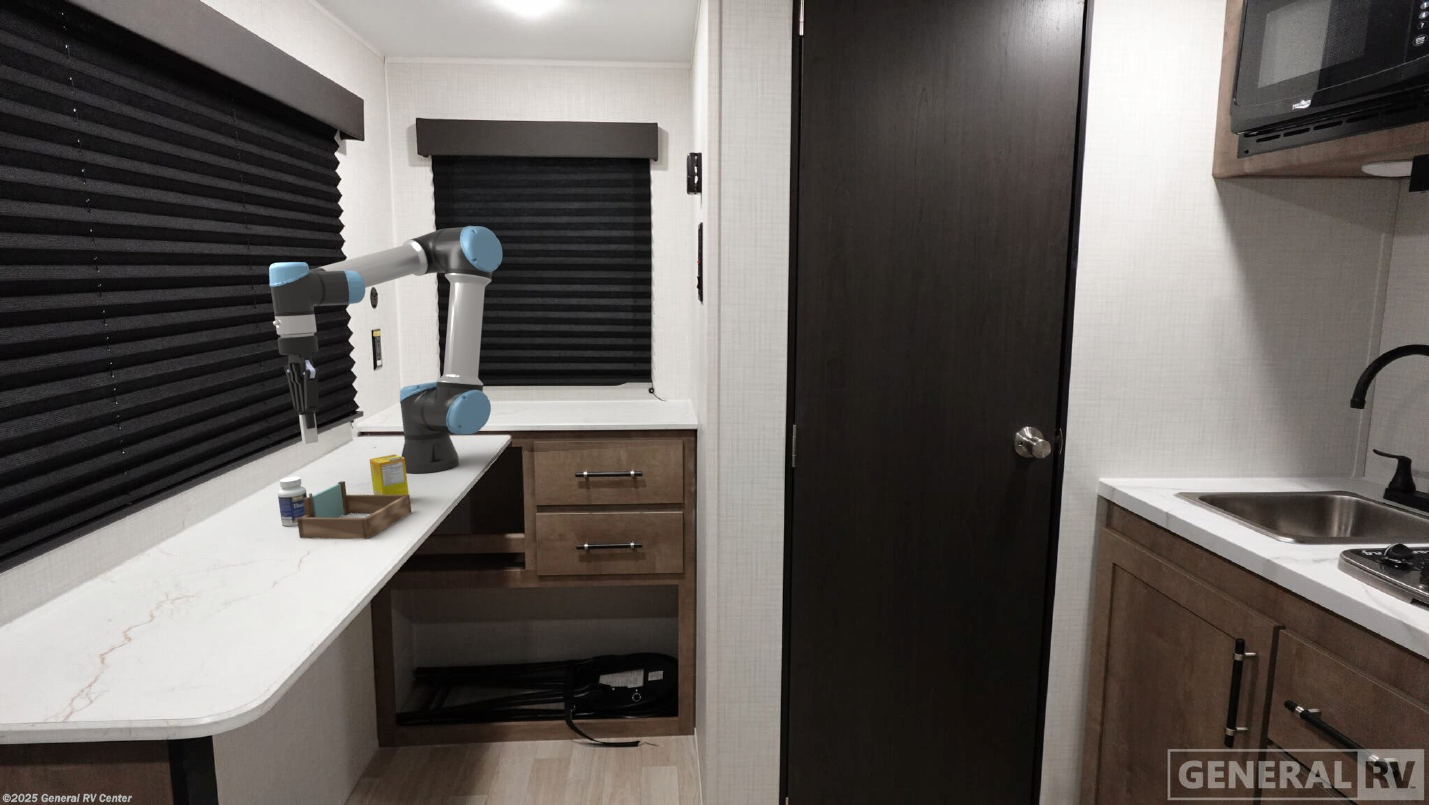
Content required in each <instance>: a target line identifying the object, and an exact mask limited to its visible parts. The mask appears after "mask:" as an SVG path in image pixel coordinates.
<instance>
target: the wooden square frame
mask: <svg viewBox="0 0 1429 805" xmlns="http://www.w3.org/2000/svg"><path fill="white" fill-rule="evenodd" d="M337 484H340V485H341V493H342V502H343V510H344V515H343V516H348V515H350V514H369V515H367V516H366V517H339V518H315V512H314V504H313V497H312V496H313V493H311V492H310V493H308V496H309V497H308V496H307V497H306V498H304V499H303V503H304V510H305V515H304V516H302V517H300V518H298V519H297V521H298V525H297V527H298V535H299V539H353V538H364V539H365V540H367V539H368V540H369V539H370V538H372V537H374V536H375V535H377V534H379V533H380V532H382V531H384V530H385V529H387V528H388V527H390V526H392V525H393V524H395V523H397V522H398V521H400V520H402V519H403V518H405V517H407V516H408V515H410V514H411V513H412V504H411V496H410V494H409V495H374V494H348V493H347V488H346V487H347V486H346V481H344V480H343V481H342V480H341V481H339V482H337Z"/></svg>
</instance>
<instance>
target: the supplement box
mask: <svg viewBox="0 0 1429 805" xmlns="http://www.w3.org/2000/svg"><path fill="white" fill-rule="evenodd" d="M369 467H370V476H371V482H372V483H371V484H372V491H373V495H410V494H409V486H408V479H407V478H408V477H407V472H406V467H405V459H404V457H401V455H399V454H398V455H397V454H390V455H385V456H381V457H379V456H378V457H375V458H369Z"/></svg>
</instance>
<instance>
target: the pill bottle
mask: <svg viewBox="0 0 1429 805" xmlns="http://www.w3.org/2000/svg"><path fill="white" fill-rule="evenodd" d="M301 478H302V477H300V476H290V477H284V478H282V479H280V480H279V484H280V485H279V486H280V488H281V489H279V491H278V493H277V499H278V504H279V506H278V507H279V513H280V514H279V515H280V521H281V524H282V526H284V527H292V526H293V527H295V526H298V521H297V519H298V518H300V517H302V516H304V515H305V510H304V503H303V499H304V498H306V497H308V495H307V494H308V493H307V489H306V488H305V487H304V486H302V479H301Z"/></svg>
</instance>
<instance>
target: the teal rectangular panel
mask: <svg viewBox="0 0 1429 805" xmlns="http://www.w3.org/2000/svg"><path fill="white" fill-rule="evenodd" d="M312 497H313V504H314V512H315V518H342V517H343V516H345V515H344V510H343V502H342V493H341V485H340V484H338V483H337V484H335V485H333V486H330V487H328V488H326V489H324V490H322V491H319V492H317V493H315V494H312Z"/></svg>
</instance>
